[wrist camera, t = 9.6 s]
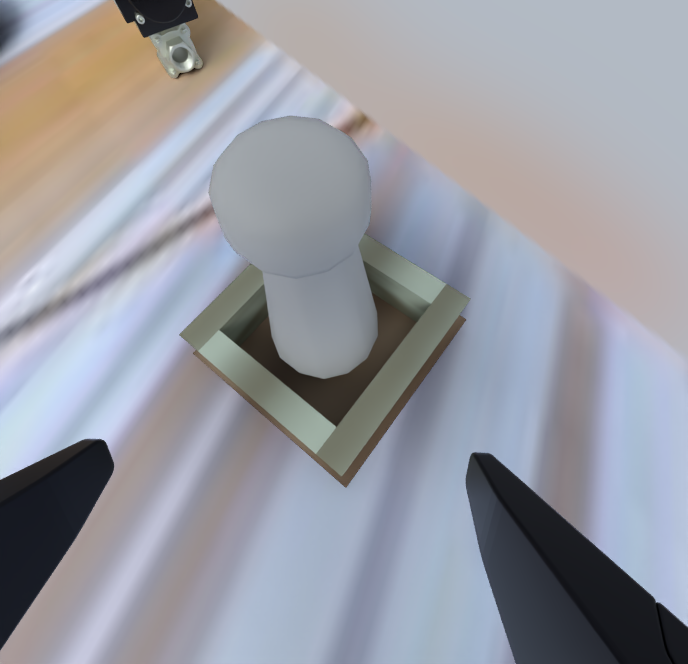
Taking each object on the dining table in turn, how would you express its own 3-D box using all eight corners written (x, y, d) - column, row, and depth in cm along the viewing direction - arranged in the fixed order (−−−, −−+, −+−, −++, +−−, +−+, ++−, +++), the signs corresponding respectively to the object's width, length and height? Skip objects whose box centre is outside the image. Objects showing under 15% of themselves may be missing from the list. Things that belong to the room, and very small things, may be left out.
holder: (461, 325, 21) (484, 297, 17) (346, 485, 18) (343, 494, 14) (319, 234, 24) (312, 193, 20) (200, 357, 21) (165, 336, 17)
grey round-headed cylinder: (289, 396, 19) (161, 286, 7) (275, 308, 21) (158, 102, 9) (387, 374, 19) (438, 228, 7) (364, 289, 21) (371, 61, 9)
